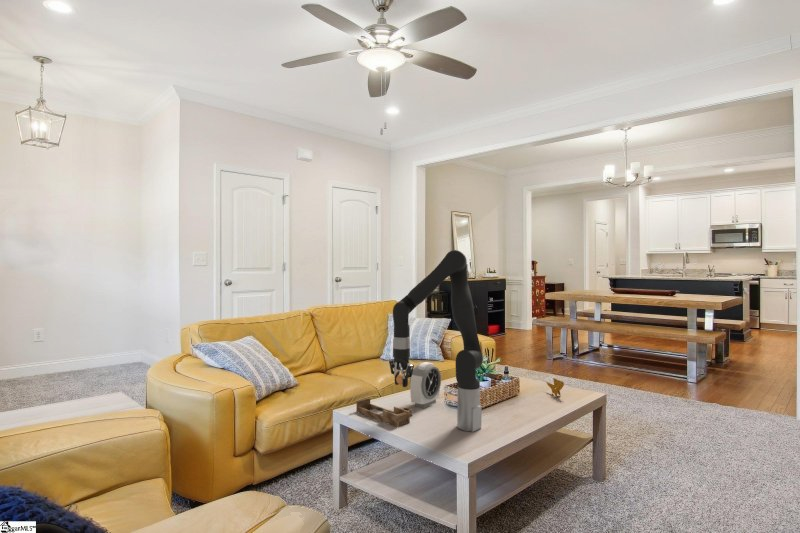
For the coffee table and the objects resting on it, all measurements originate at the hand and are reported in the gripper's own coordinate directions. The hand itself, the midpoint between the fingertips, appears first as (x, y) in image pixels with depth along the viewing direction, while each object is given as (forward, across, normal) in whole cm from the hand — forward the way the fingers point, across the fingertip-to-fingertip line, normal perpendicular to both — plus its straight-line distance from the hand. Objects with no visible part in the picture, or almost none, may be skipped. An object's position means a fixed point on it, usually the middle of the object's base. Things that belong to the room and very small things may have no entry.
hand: (401, 385), depth 196 cm
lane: (+15, +8, +4) cm, 18 cm away
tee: (+15, +2, -6) cm, 17 cm away
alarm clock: (+16, +8, -24) cm, 30 cm away
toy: (+15, -27, -87) cm, 92 cm away
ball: (-3, 0, 0) cm, 3 cm away
